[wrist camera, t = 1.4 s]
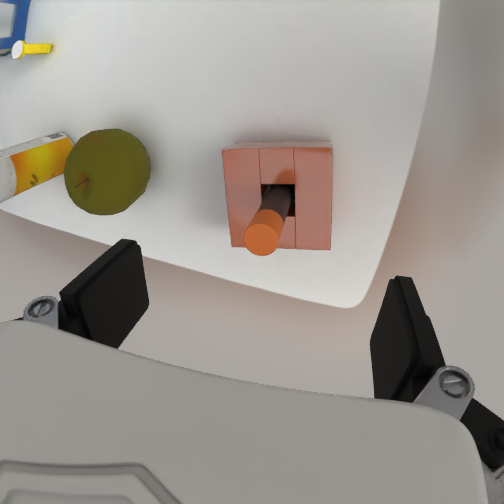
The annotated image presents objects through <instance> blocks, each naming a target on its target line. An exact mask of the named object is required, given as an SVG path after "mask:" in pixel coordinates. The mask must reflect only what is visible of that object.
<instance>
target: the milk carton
mask: <svg viewBox="0 0 504 504" xmlns="http://www.w3.org/2000/svg"><path fill="white" fill-rule="evenodd" d="M29 5H30V0H0V56H6V55H8V54H10V53H12V48H13V46H14V44H15V43H16V42H17V41H19V40H22V41H24V40H25V31H26V24H27V17H28V11H29Z"/></svg>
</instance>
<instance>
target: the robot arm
mask: <svg viewBox="0 0 504 504" xmlns="http://www.w3.org/2000/svg"><path fill="white" fill-rule="evenodd" d="M59 294H60V297H61V300H60V301H59V302H58V300H57V299H56V298H54V297H52V296H42V297H39V298H36V299H34V300H32V301H31V302H30V303H29V304H28V305H27V306H26V307H25V310H24V315H23V317H22V318H18V319H15V320H11V321H6V322H2V323H0V504H504V421H503V420H502V419H501V418H499V417H498V416H497V415H495V414H494V413H493V412H491V411H490V410H489V409H487V408H486V407H485V406H483V405H482V404H481V403H479V402H478V401H476V400H475V399H474V398H472V397H473V394H474V391H475V387H474V382H473V380H472V378H471V377H470V375H469V374H468V373H467V372H465V371H464V370H463V369H461V368H459V367H455V366H446V365H445V362H444V358H443V355H442V352H441V349H440V346H439V343H438V340H437V337H436V334H435V331H434V328H433V326H432V323H431V320H430V318H429V316H427V315H426V313H425V311H424V308H423V305H422V303H421V300H420V298H419V295H418V292H417V290H416V287H415V285H414V282H413V280H412V278H411V277H404V276H396V277H395V278H394V279H390V280H389V283H388V286H387V290H386V293H385V296H384V299H383V303H382V306H381V309H380V312H379V315H378V318H377V321H376V324H375V327H374V330H373V332H372V335H371V339H370V351H371V361H372V372H373V382H374V398H375V399H373V398H364V397H355V396H342V395H334V394H326V393H318V392H309V391H302V390H295V389H288V388H282V387H276V386H269V385H264V384H258V383H253V382H247V381H242V380H236V379H232V378H227V377H222V376H218V375H213V374H209V373H204V372H200V371H196V370H191V369H187V368H183V367H179V366H175V365H171V364H168V363H164V362H160V361H157V360H153V359H149V358H146V357H142V356H139V355H135V354H132V353H129V352H125V351H122V350H119V349H118V347H119V346H120V345H121V344H122V342H123V341H124V339H125V338H126V337H127V335H128V334H129V333H130V331H131V330H132V329H133V327H134V326H135V325H136V323H137V322H138V321H139V319H140V318H141V317H142V315H143V314H144V313H145V311H146V310H147V309H148V306H149V298H148V292H147V286H146V280H145V274H144V267H143V261H142V253H141V247H140V245H138V244H137V242H136V241H135V240H128V239H121V240H120V241H118V242H117V243H116V244H115V245H113V246H112V247H111V248H110V249H109V250H108V251H106V252H105V253H104V254H102V255H101V256H100V257H99V258H98V259H97V260H95V261H94V262H93V263H92V264H91V265H90V266H88V267H87V268H86V269H85V270H84V271H83V272H81V273H80V274H79V275H78V276H77V277H76V278H75V279H73V280H72V281H71V282H70V283H69V284H68V285H67V286H66V287H64V288H63V289H62V290H61V291H60V292H59Z"/></svg>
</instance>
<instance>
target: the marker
mask: <svg viewBox="0 0 504 504" xmlns="http://www.w3.org/2000/svg"><path fill="white" fill-rule="evenodd" d="M294 191H295V184H273V185H272V187H271V189H270V190H269V192H268V194H267V195H266V197H265V199H264V201H263V202H262V204H261V206H260V207H259V209H258V211H257V212H256V214H255V215H254V216H253V218H252V220H251V221H250V223H249V225H248V227H247V228H246V230H245V232H244V235H243V241H244V244H245V246H246V248H247V249H248V250H249V251H250V252H251V253H253V254H255V255H259V256H265V255H269V254H271V253H273V252H274V251H275V250H276V248H277V246H278V243H279V240H280V237H281V234H282V231H283V226H284V222H285V219H286V216H287V213H288V210H289V207H290V204H291V200H292V197H293V194H294Z"/></svg>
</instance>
